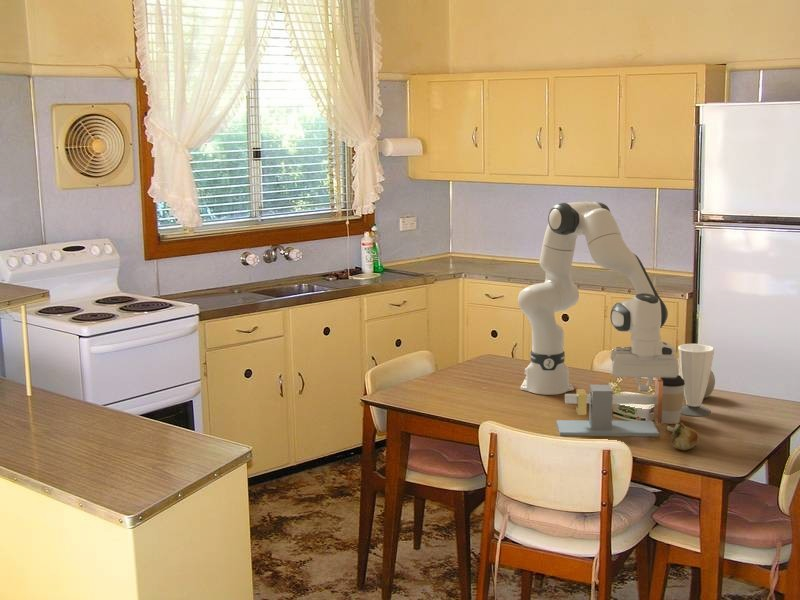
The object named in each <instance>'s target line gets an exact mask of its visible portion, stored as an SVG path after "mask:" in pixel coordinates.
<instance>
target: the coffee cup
mask: <svg viewBox="0 0 800 600" xmlns="http://www.w3.org/2000/svg"><path fill="white" fill-rule="evenodd" d="M660 378H661V379H662V381H663V399H662V424H667V425H668V424H671V425H672V424H677V423H678V422H680V420H681V414H680V413H681V408H682V406H683V399H684V391H683V389H684V384H685V383H684V379H682V378H681V374H678V376H677V377H675V378H666V377H660Z"/></svg>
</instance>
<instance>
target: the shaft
mask: <svg viewBox="0 0 800 600" xmlns="http://www.w3.org/2000/svg"><path fill="white" fill-rule="evenodd" d="M654 378H655V380H654V381H655V382H654V393H652V394H650V393H648V394H647V393H646V394H645V393H643V394H642V393H640V394H639V393H630V394H629V393H613V397H612V405H614V404H615V405H621V404H622V405H654V408H653V419H654V421H655V422H656V423H657V425H662V424H663V423H662V399H663V381H662V379H661V378H660V377H654ZM586 394H587V404H588V405H590V404H592V394H590V393H586ZM564 403H565V404H576V403H578V395H577V394H576V393H564Z"/></svg>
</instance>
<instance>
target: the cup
mask: <svg viewBox="0 0 800 600" xmlns="http://www.w3.org/2000/svg"><path fill="white" fill-rule="evenodd" d="M677 349H678V364H679V372H680V376H681V378H682V379H684V383H685V384H684V389H683V391H684V393H683V397H684V400H685V403H686V405H682V408H681V413H680V415H682V416H689V417H706V416H710V415H711V414H712V410H710V409H709V408H707V407H704V406H701V405H702V404H703V400H704V399H705V398H704V395H705V392H706V388H707V385H708V380H709V376H710V372H711V371H712V368H713V367H712V365H713V360H714V354H715V348H714V347H713V346H711V345H708V344H701V343H684V344H680V345H678V347H677Z"/></svg>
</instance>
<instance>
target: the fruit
mask: <svg viewBox="0 0 800 600" xmlns="http://www.w3.org/2000/svg"><path fill="white" fill-rule="evenodd" d="M715 384H716V378H715V374H714V372H713V370H711V372H710V376H709V380H708V385H707V388H706V392H705V395H704V398H703V399H705V398H708V397H709V396H710V395H711V394H712V393H713V391H714V388H715Z"/></svg>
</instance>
